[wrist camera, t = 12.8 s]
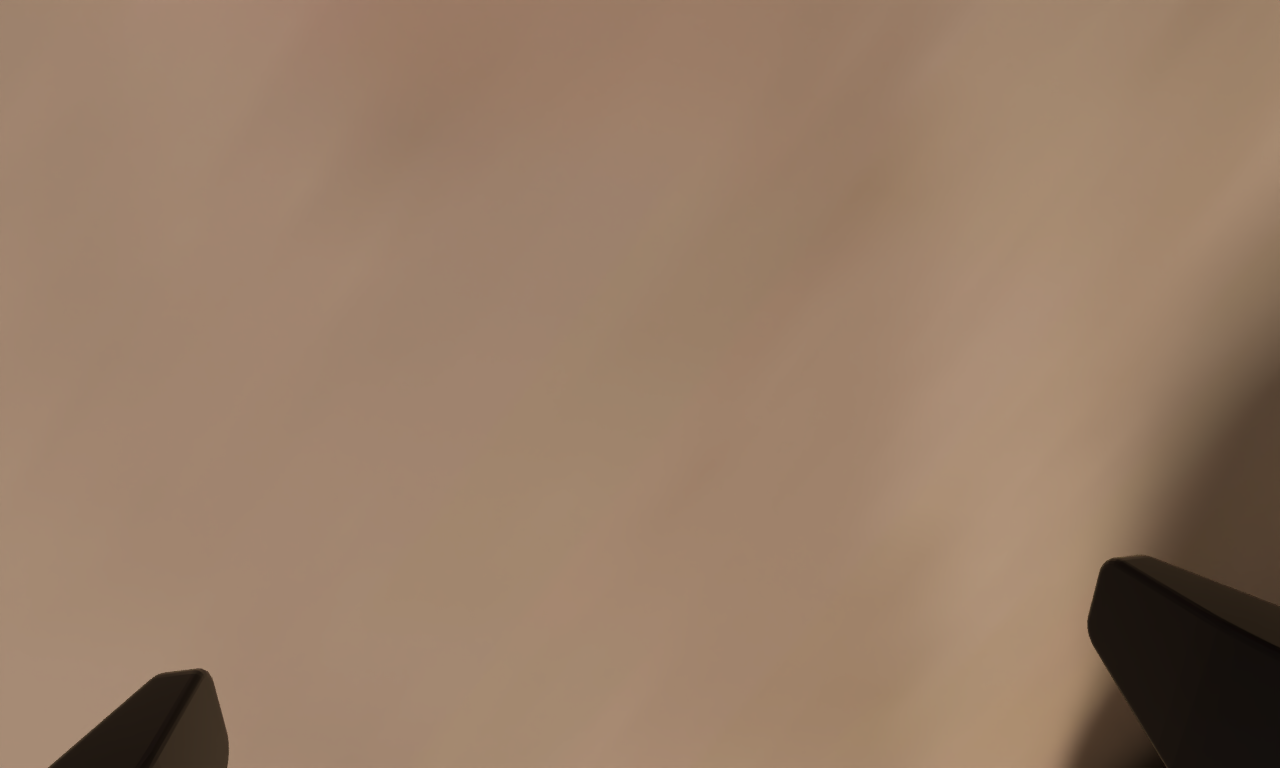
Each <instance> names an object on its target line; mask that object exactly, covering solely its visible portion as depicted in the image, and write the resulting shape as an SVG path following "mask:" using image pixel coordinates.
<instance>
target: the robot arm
mask: <svg viewBox="0 0 1280 768" xmlns="http://www.w3.org/2000/svg"><path fill="white" fill-rule="evenodd" d="M1087 626H1088V633H1089V637H1090V639H1091V642H1092V644H1093V646H1094V648H1095V649H1096V651H1097V653H1098V654H1099V656H1100V658H1101V660H1102V661H1103V663H1104V665H1105V666H1106V668H1107V670H1108V671H1109V673H1110V675H1111V676H1112V678H1113V680H1114V681H1115V683H1116V685H1117V686H1118V688H1119V690H1120V691H1121V693H1122V695H1123V696H1124V698H1125V700H1126V701H1127V703H1128V705H1129V706H1130V708H1131V710H1132V711H1133V713H1134V715H1135V716H1136V718H1137V720H1138V721H1139V723H1140V725H1141V726H1142V728H1143V730H1144V731H1145V733H1146V735H1147V737H1148V738H1149V740H1150V742H1151V743H1152V745H1153V747H1154V748H1155V750H1156V752H1157V753H1158V755H1159V756H1160V758H1161V759H1162V761H1163V763H1164V764H1165V766H1166V767H1167V768H1280V606H1277V605H1275V604H1272V603H1270V602H1267V601H1264V600H1262V599H1259V598H1257V597H1254V596H1251V595H1249V594H1246V593H1244V592H1241V591H1238V590H1236V589H1233V588H1231V587H1228V586H1225V585H1223V584H1220V583H1218V582H1215V581H1213V580H1210V579H1207V578H1205V577H1202V576H1200V575H1197V574H1194V573H1192V572H1189V571H1187V570H1184V569H1181V568H1179V567H1176V566H1174V565H1171V564H1168V563H1166V562H1163V561H1161V560H1158V559H1156V558H1153V557H1150V556H1146V555H1134V556H1126V557H1117V558H1112V559H1109V560H1107V561H1106V562H1105V563H1104V564H1103V566H1102V567H1101V569H1100V572H1099V576H1098V579H1097V583H1096V587H1095V591H1094V595H1093V599H1092V603H1091V607H1090V611H1089V615H1088V620H1087ZM228 756H229V742H228V735H227V731H226V727H225V723H224V719H223V716H222V712H221V708H220V704H219V701H218V697H217V693H216V689H215V686H214V682H213V679H212V677H211V676H210V674H209V673H208V672H207V671H206V670H203V669H199V668H198V669H190V670H181V671H173V672H165V673H161V674H158V675H156V676H155V677H153V678H152V679H150V680H149V681H148V682H147V683H146V684H145V685H143V686H142V687H141V688H140V689H139V690H138V691H136V692H135V693H134V694H133V695H132V696H131V697H129V698H128V699H127V700H126V701H125V702H124V703H123V704H121V705H120V706H119V707H118V708H117V709H116V710H114V711H113V712H112V713H111V714H110V715H109V716H107V717H106V718H105V719H104V720H103V721H102V722H100V723H99V724H98V725H97V726H96V727H95V728H94V729H92V730H91V731H90V732H89V733H88V734H87V735H85V736H84V737H83V738H82V739H81V740H80V741H78V742H77V743H76V744H75V745H74V746H73V747H72V748H70V749H69V750H68V751H67V752H66V753H65V754H63V755H62V756H61V757H60V758H59V759H58V760H56V761H55V762H54V763H53V764H52V765H51V766H49V767H48V768H227V765H228Z"/></svg>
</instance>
